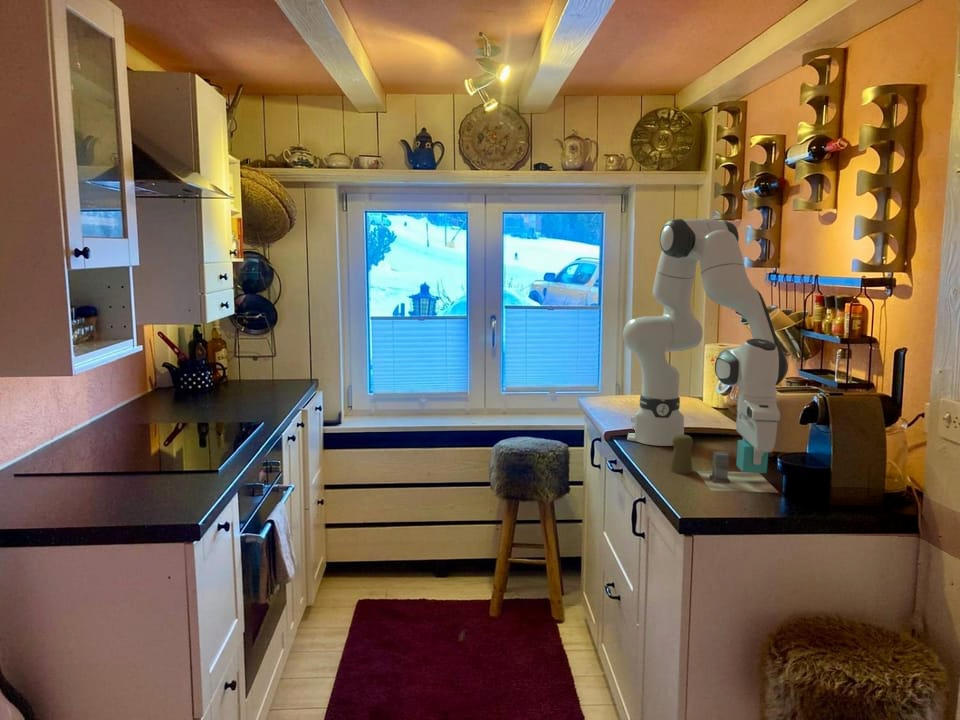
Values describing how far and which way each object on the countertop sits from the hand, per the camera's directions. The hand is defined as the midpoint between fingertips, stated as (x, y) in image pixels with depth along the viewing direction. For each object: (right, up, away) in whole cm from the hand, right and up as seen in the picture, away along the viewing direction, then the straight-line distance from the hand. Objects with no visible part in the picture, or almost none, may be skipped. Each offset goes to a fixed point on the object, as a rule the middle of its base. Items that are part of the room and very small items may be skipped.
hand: (751, 459), depth 182 cm
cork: (-15, -6, +9) cm, 19 cm away
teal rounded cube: (0, -2, 0) cm, 2 cm away
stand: (-4, -7, +1) cm, 8 cm away
